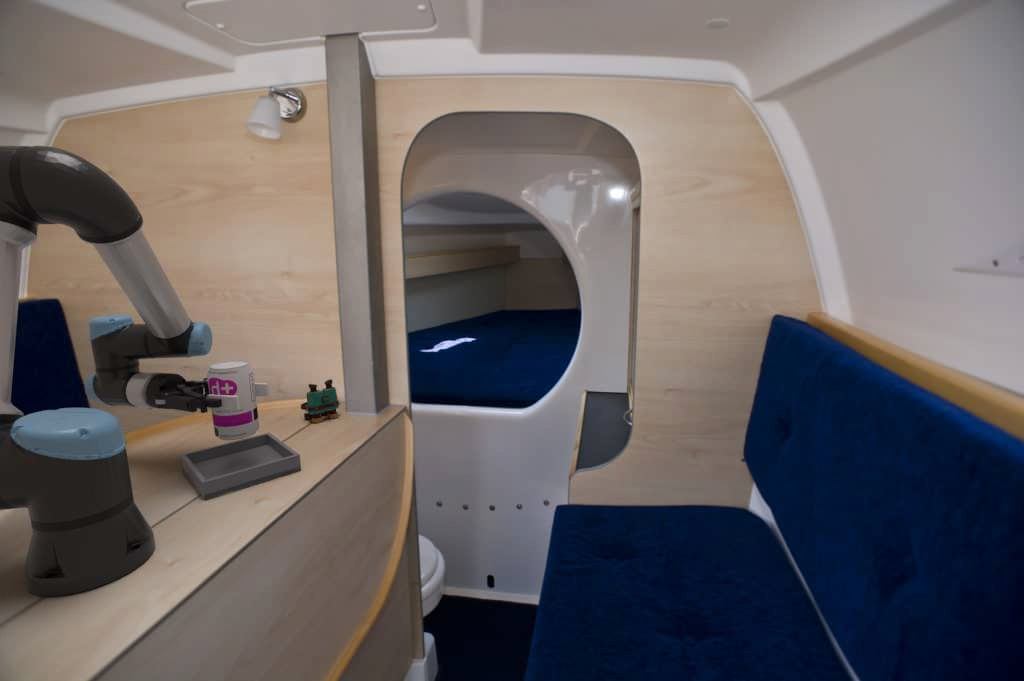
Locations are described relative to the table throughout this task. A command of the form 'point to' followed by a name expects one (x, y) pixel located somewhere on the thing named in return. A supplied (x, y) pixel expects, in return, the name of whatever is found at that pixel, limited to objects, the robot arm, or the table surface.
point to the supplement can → (234, 382)
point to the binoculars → (321, 402)
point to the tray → (239, 464)
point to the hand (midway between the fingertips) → (253, 396)
